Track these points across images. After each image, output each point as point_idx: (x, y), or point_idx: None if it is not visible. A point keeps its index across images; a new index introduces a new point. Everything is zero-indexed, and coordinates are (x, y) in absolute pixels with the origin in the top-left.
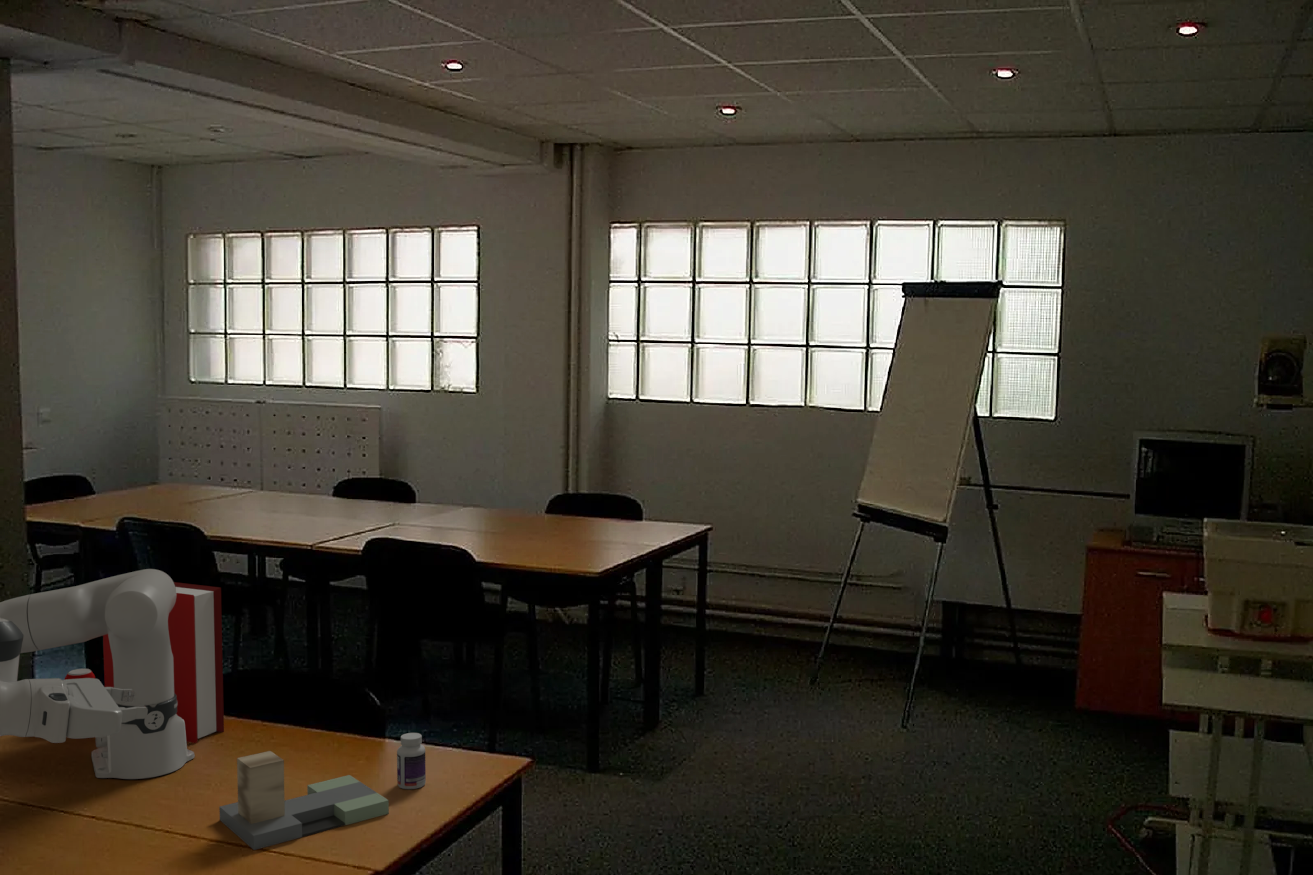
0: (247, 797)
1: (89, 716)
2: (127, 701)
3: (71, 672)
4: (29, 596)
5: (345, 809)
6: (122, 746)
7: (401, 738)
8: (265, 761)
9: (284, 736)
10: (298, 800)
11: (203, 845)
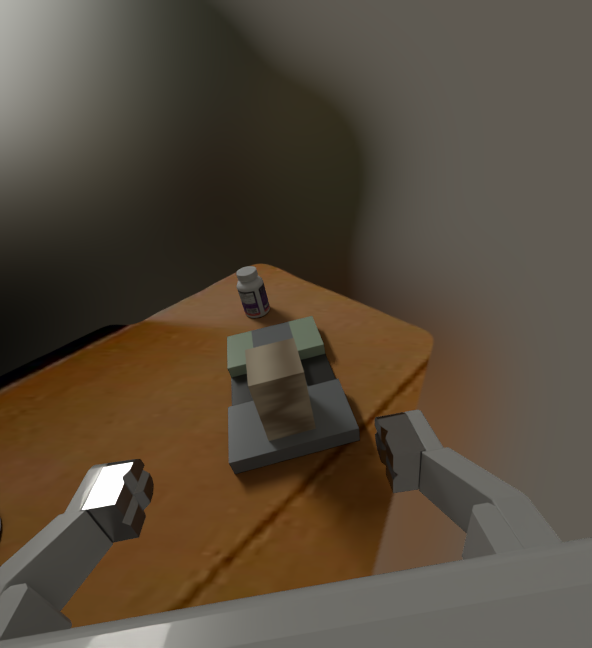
0: (299, 409)
1: None
2: (143, 512)
3: None
4: None
5: (317, 343)
6: None
7: (245, 276)
8: (286, 355)
9: (41, 387)
10: None
11: (315, 504)
